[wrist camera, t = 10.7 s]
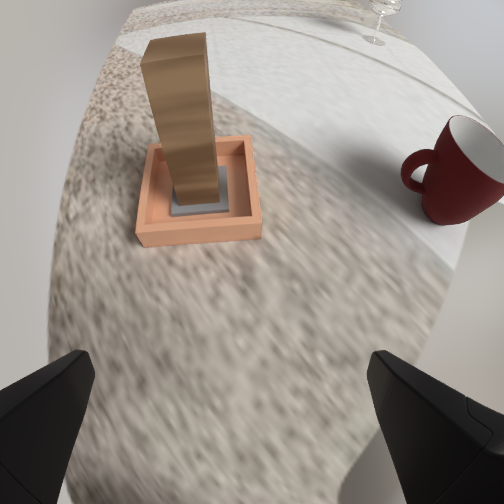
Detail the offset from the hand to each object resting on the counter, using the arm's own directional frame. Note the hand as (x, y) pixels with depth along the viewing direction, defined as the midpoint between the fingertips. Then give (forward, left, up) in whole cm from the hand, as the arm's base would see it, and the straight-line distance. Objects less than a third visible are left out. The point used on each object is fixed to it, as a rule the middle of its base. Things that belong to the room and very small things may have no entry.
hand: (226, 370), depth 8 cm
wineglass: (+63, +13, -14) cm, 66 cm away
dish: (+11, +12, -13) cm, 21 cm away
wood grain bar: (+11, +12, -13) cm, 21 cm away
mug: (+24, -7, -14) cm, 28 cm away
